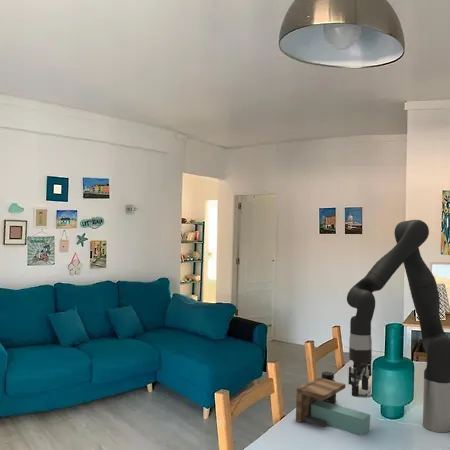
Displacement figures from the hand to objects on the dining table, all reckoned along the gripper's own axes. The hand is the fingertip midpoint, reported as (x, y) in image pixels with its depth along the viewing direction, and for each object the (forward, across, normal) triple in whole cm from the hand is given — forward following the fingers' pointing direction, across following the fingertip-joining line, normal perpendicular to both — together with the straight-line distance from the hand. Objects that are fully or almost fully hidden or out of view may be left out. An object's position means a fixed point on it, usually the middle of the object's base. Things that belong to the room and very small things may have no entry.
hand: (360, 392), depth 165 cm
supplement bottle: (+13, -16, -20) cm, 29 cm away
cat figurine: (+14, -39, -14) cm, 44 cm away
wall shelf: (+13, 0, -15) cm, 20 cm away
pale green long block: (+13, 0, -8) cm, 15 cm away
